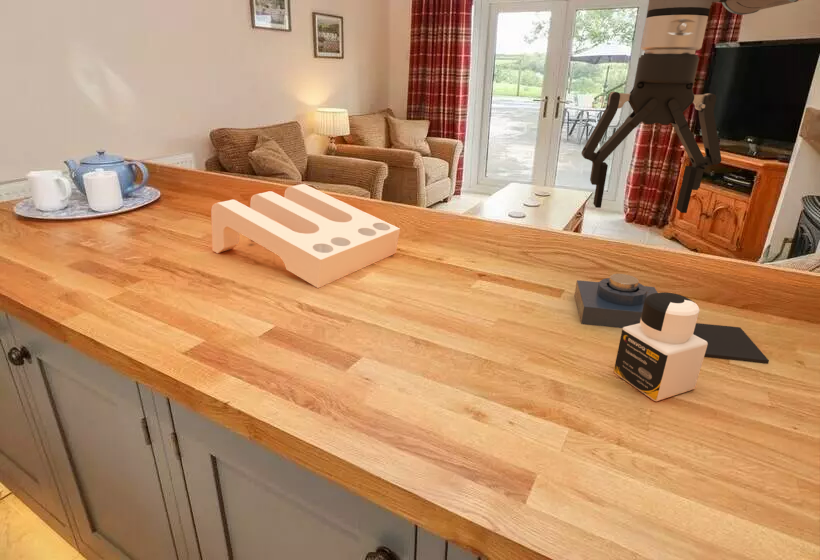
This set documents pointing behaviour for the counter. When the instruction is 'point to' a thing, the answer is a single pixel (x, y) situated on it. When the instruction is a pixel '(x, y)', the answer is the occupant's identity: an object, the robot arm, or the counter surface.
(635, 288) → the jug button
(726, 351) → the mat
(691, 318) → the medicine bottle
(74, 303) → the counter surface
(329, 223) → the bracket
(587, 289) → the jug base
